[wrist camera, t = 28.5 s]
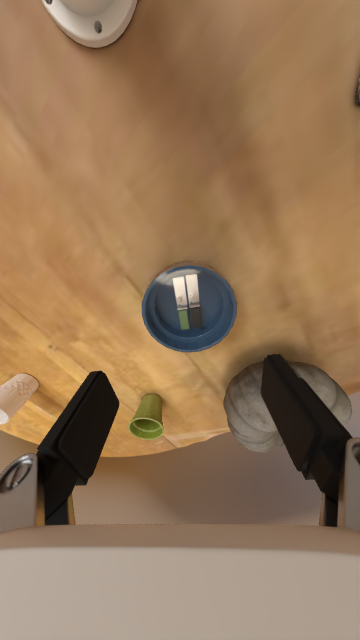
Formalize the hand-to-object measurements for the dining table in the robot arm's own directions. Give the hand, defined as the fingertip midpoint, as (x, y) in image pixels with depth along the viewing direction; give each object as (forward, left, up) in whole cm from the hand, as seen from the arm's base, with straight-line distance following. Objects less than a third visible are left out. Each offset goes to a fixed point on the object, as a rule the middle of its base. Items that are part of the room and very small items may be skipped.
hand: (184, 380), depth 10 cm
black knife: (+4, +1, -25) cm, 26 cm away
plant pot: (+35, -15, -26) cm, 46 cm away
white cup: (+23, -50, -26) cm, 61 cm away
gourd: (+30, +18, -26) cm, 44 cm away
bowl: (+5, 0, -26) cm, 26 cm away
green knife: (+5, -1, -25) cm, 26 cm away
